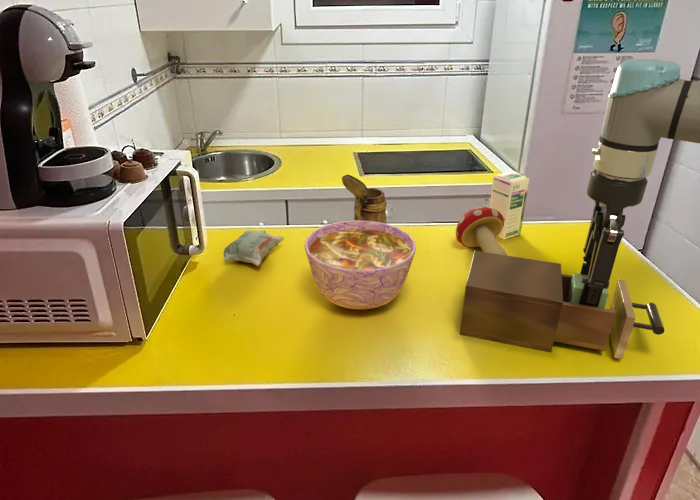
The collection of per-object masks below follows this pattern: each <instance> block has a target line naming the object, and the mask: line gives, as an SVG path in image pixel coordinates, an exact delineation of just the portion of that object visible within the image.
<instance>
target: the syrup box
mask: <svg viewBox="0 0 700 500" xmlns="http://www.w3.org/2000/svg"><path fill="white" fill-rule="evenodd" d="M491 184H492V185H491V193H490V200H489V208H492V209H496V210H497V211H499V212H500V213H501V214H502V215H503V218H504V226H503V228H502V231H501V232H500V234H499V235H498V236H497V237H496V238H498V239H500V240H503V241H505V240H507V239H510V238H513V237H516V236H520V235H521V233H522V227H523V221H524V215H525V210H526V203H527V197H528V190H529V185H530V177H529V176H527V175H525V174H523V173H520V172H517V171H514V170H509V171H506V172H502V173H499V174H494V175H493V177H492V183H491Z"/></svg>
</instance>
